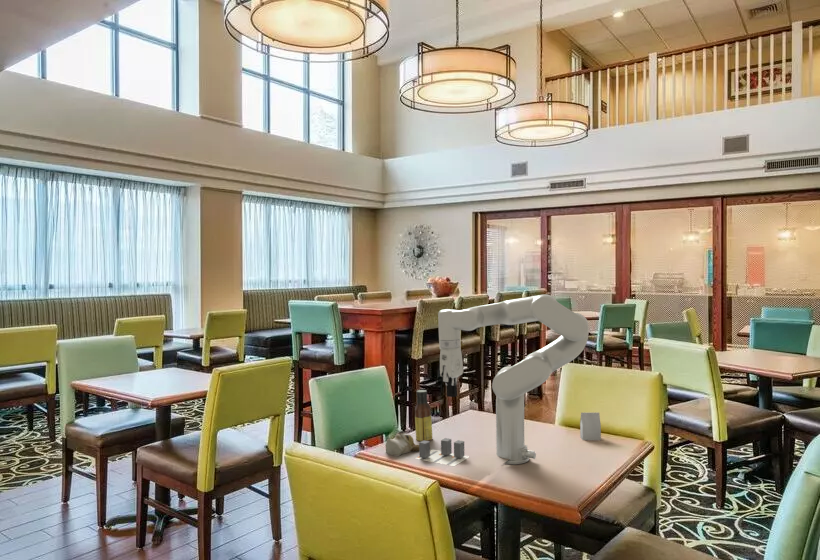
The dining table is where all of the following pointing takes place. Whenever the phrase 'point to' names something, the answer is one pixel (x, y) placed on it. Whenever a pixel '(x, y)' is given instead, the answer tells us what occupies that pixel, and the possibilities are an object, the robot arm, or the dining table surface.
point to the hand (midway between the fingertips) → (452, 396)
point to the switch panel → (443, 458)
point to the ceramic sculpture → (401, 444)
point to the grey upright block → (590, 426)
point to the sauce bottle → (423, 417)
